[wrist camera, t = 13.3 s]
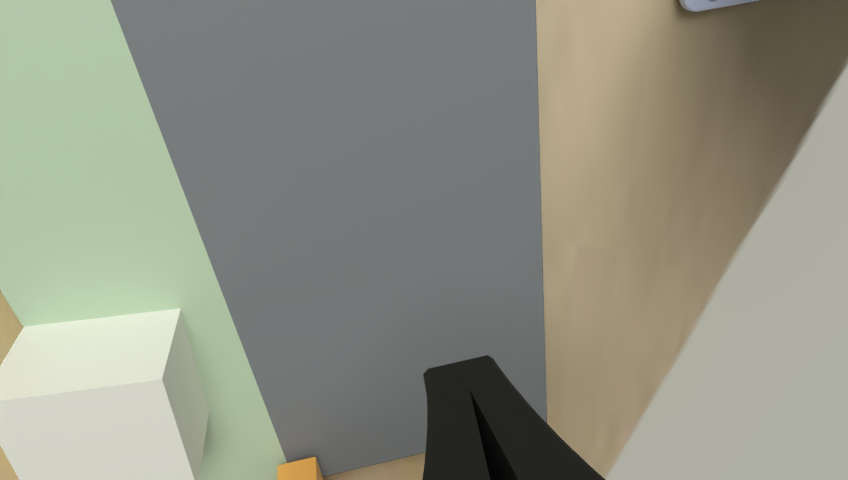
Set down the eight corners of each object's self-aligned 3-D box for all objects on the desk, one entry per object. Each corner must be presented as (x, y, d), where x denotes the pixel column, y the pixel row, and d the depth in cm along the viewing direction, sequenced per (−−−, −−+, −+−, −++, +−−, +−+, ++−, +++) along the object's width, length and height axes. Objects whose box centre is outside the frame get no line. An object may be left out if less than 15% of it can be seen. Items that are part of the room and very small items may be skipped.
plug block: (180, 308, 21) (162, 379, 18) (209, 411, 23) (197, 488, 20) (23, 326, 20) (-23, 403, 17) (71, 430, 23) (38, 513, 20)
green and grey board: (519, -148, 17) (531, -149, 16) (539, 406, 28) (546, 423, 27) (-177, -42, 15) (-204, -37, 14) (148, 499, 27) (143, 519, 26)
